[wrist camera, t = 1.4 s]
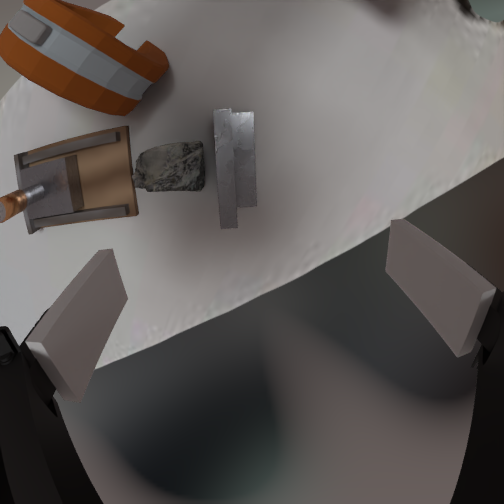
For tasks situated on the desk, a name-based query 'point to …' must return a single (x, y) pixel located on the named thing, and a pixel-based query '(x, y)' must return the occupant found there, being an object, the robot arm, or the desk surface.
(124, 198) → the brown shallow box
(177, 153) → the stone
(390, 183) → the desk surface
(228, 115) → the angle bracket
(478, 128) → the desk surface
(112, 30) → the alarm clock
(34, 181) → the ram
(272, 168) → the desk surface
